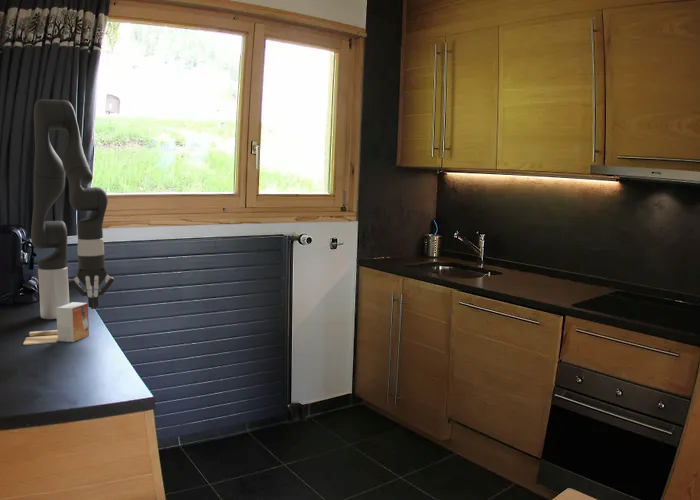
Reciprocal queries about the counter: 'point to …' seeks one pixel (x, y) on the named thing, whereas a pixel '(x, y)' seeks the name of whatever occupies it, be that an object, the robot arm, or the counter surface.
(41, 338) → the plate
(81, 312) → the small box
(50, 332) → the turner
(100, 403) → the counter surface
